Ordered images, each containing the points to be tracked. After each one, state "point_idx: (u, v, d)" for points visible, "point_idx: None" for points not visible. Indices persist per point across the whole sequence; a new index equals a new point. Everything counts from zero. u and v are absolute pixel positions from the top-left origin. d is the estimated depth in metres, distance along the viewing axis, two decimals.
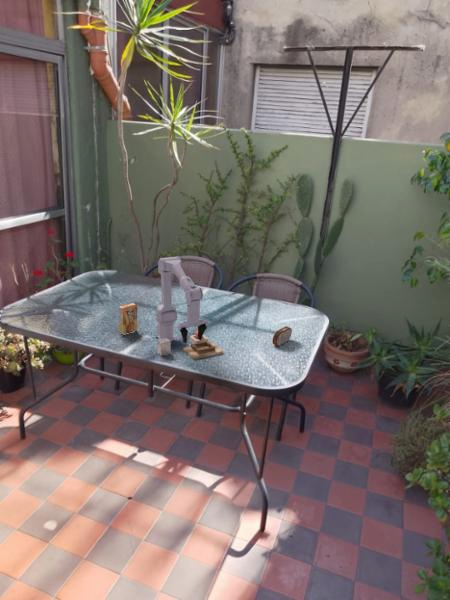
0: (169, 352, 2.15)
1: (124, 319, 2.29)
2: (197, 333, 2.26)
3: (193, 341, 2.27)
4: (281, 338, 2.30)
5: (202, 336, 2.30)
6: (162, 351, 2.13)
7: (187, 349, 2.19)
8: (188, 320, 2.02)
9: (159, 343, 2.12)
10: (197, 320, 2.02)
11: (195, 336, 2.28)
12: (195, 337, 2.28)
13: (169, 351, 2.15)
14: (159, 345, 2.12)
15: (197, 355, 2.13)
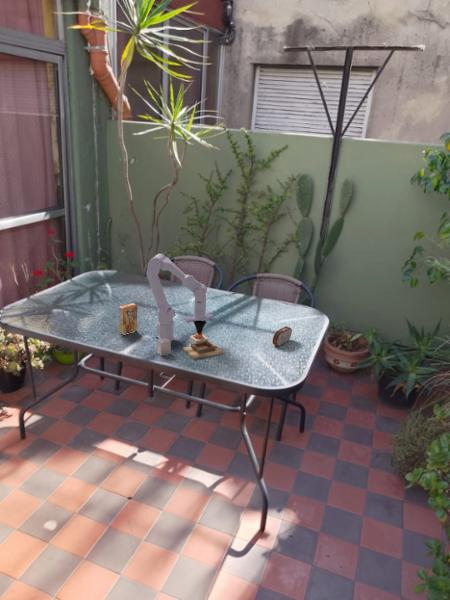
0: (169, 352, 2.15)
1: (124, 319, 2.29)
2: (197, 335, 2.27)
3: (193, 341, 2.27)
4: (281, 338, 2.30)
5: (202, 336, 2.30)
6: (162, 351, 2.13)
7: (187, 349, 2.19)
8: (195, 314, 2.22)
9: (159, 343, 2.12)
10: (203, 314, 2.23)
11: (195, 338, 2.28)
12: None
13: (169, 351, 2.15)
14: (159, 345, 2.12)
15: (197, 355, 2.13)
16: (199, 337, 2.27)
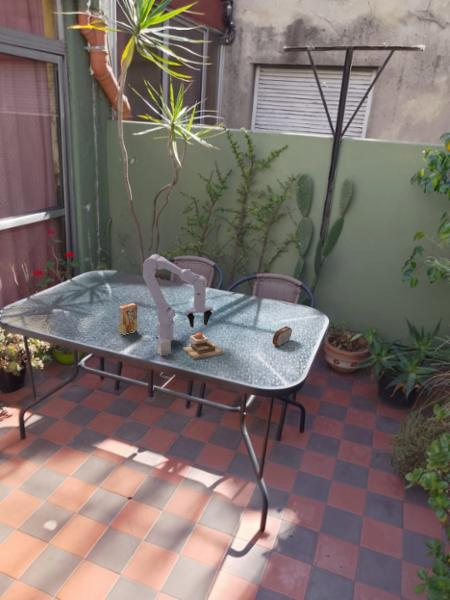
0: (169, 352, 2.15)
1: (124, 319, 2.29)
2: (197, 335, 2.27)
3: (193, 341, 2.27)
4: (281, 338, 2.30)
5: (202, 336, 2.30)
6: (162, 351, 2.13)
7: (187, 349, 2.19)
8: (195, 306, 2.21)
9: (159, 343, 2.12)
10: (203, 306, 2.21)
11: (195, 338, 2.28)
12: None
13: (169, 351, 2.15)
14: (159, 345, 2.12)
15: (197, 355, 2.13)
16: (199, 338, 2.27)
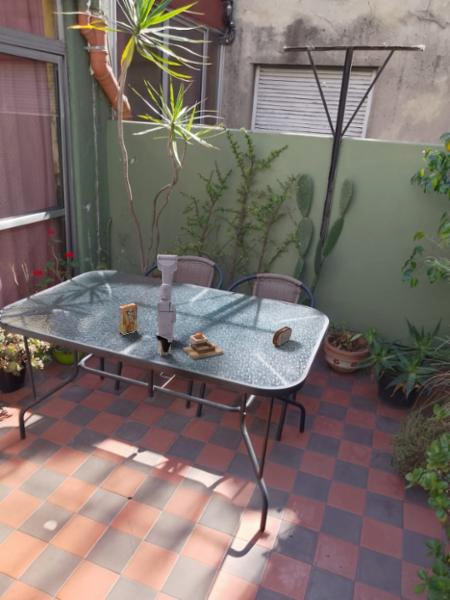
0: (169, 352, 2.15)
1: (124, 319, 2.29)
2: (197, 335, 2.27)
3: (193, 341, 2.27)
4: (281, 338, 2.30)
5: (202, 336, 2.30)
6: (162, 351, 2.13)
7: (187, 349, 2.19)
8: None
9: (159, 343, 2.12)
10: (159, 330, 2.10)
11: (195, 338, 2.28)
12: None
13: (169, 351, 2.15)
14: (159, 344, 2.12)
15: (197, 355, 2.13)
16: (199, 338, 2.27)
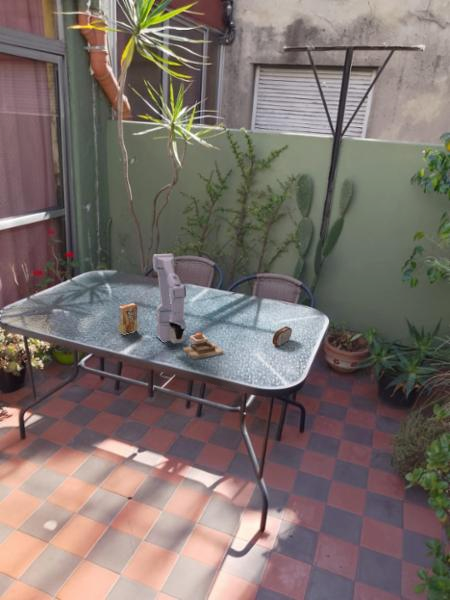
0: (182, 339, 2.14)
1: (124, 319, 2.29)
2: (197, 335, 2.27)
3: (193, 341, 2.27)
4: (281, 338, 2.30)
5: (202, 336, 2.30)
6: (175, 338, 2.12)
7: (187, 349, 2.19)
8: None
9: (172, 330, 2.12)
10: (173, 317, 2.09)
11: (195, 338, 2.28)
12: None
13: (182, 338, 2.14)
14: (172, 332, 2.12)
15: (197, 355, 2.13)
16: (199, 338, 2.27)
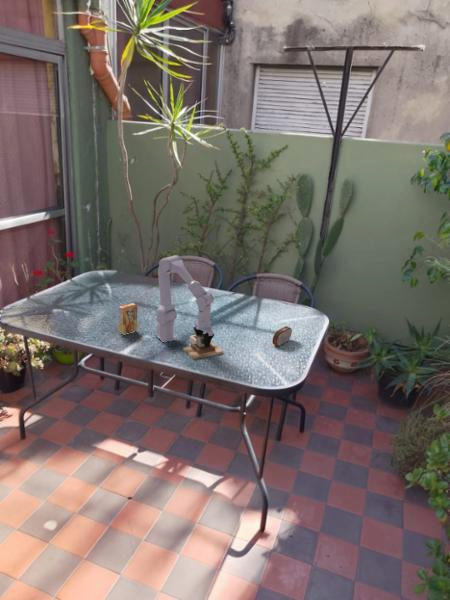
0: None
1: (124, 319, 2.29)
2: None
3: (193, 341, 2.27)
4: (281, 338, 2.30)
5: None
6: (201, 347, 2.16)
7: (187, 349, 2.19)
8: None
9: (198, 339, 2.16)
10: (200, 324, 2.13)
11: (195, 338, 2.28)
12: None
13: (207, 347, 2.18)
14: (198, 340, 2.16)
15: (197, 355, 2.13)
16: None
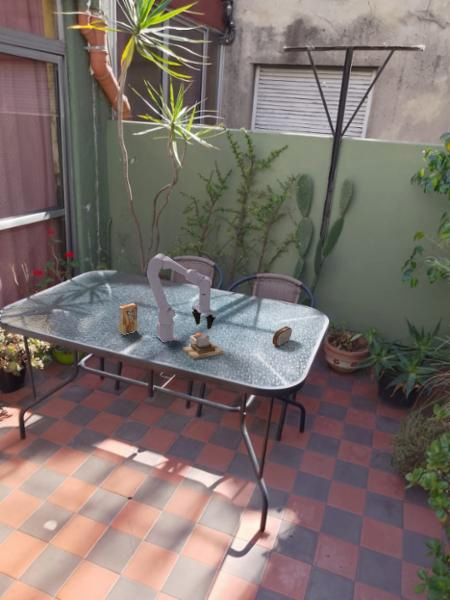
0: None
1: (124, 319, 2.29)
2: (197, 335, 2.27)
3: (193, 341, 2.27)
4: (281, 338, 2.30)
5: None
6: (201, 347, 2.16)
7: (187, 349, 2.19)
8: None
9: (198, 339, 2.16)
10: (202, 307, 2.20)
11: (195, 338, 2.28)
12: None
13: (207, 347, 2.18)
14: (198, 340, 2.16)
15: (197, 355, 2.13)
16: None
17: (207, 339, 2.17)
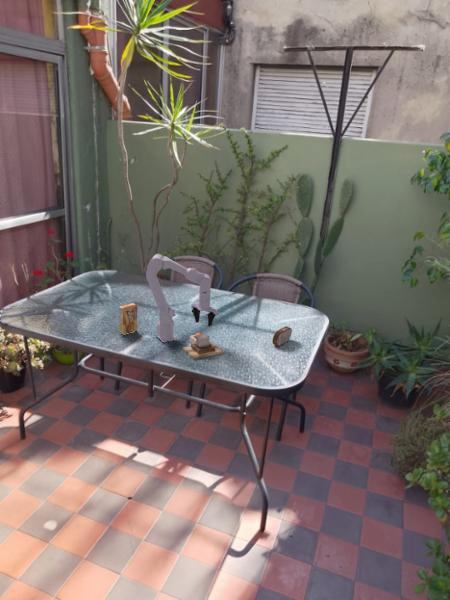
0: None
1: (124, 319, 2.29)
2: (197, 335, 2.27)
3: (193, 341, 2.27)
4: (281, 338, 2.30)
5: None
6: (201, 347, 2.16)
7: (187, 349, 2.19)
8: None
9: (198, 339, 2.16)
10: (202, 305, 2.23)
11: (195, 338, 2.28)
12: None
13: (207, 347, 2.18)
14: (198, 340, 2.16)
15: (197, 355, 2.13)
16: None
17: (207, 339, 2.17)
